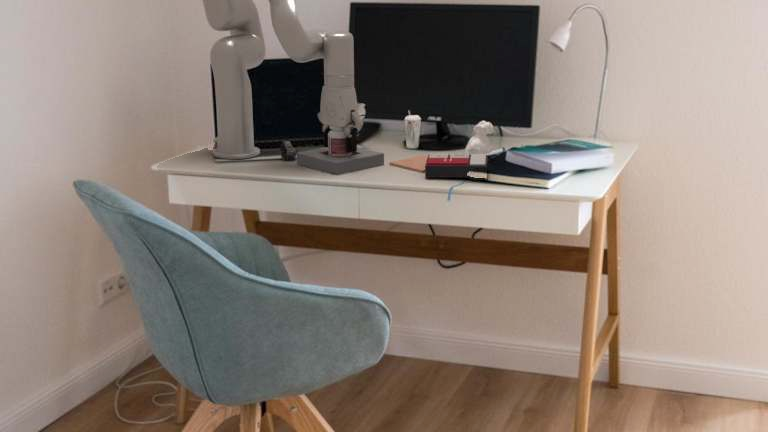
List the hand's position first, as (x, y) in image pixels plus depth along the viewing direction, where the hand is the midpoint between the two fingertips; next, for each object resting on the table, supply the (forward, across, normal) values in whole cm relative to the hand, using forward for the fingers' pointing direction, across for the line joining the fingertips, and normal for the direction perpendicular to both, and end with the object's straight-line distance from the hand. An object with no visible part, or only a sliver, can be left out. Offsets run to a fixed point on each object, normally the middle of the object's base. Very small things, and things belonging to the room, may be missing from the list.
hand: (340, 148), depth 249 cm
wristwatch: (+4, -14, -6) cm, 16 cm away
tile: (+4, +15, +15) cm, 22 cm away
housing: (+4, 0, 0) cm, 4 cm away
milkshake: (+4, -2, +28) cm, 28 cm away
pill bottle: (+4, 0, 0) cm, 4 cm away
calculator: (+4, +28, +14) cm, 31 cm away
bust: (+4, +20, +31) cm, 37 cm away
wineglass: (+4, -13, +16) cm, 21 cm away
